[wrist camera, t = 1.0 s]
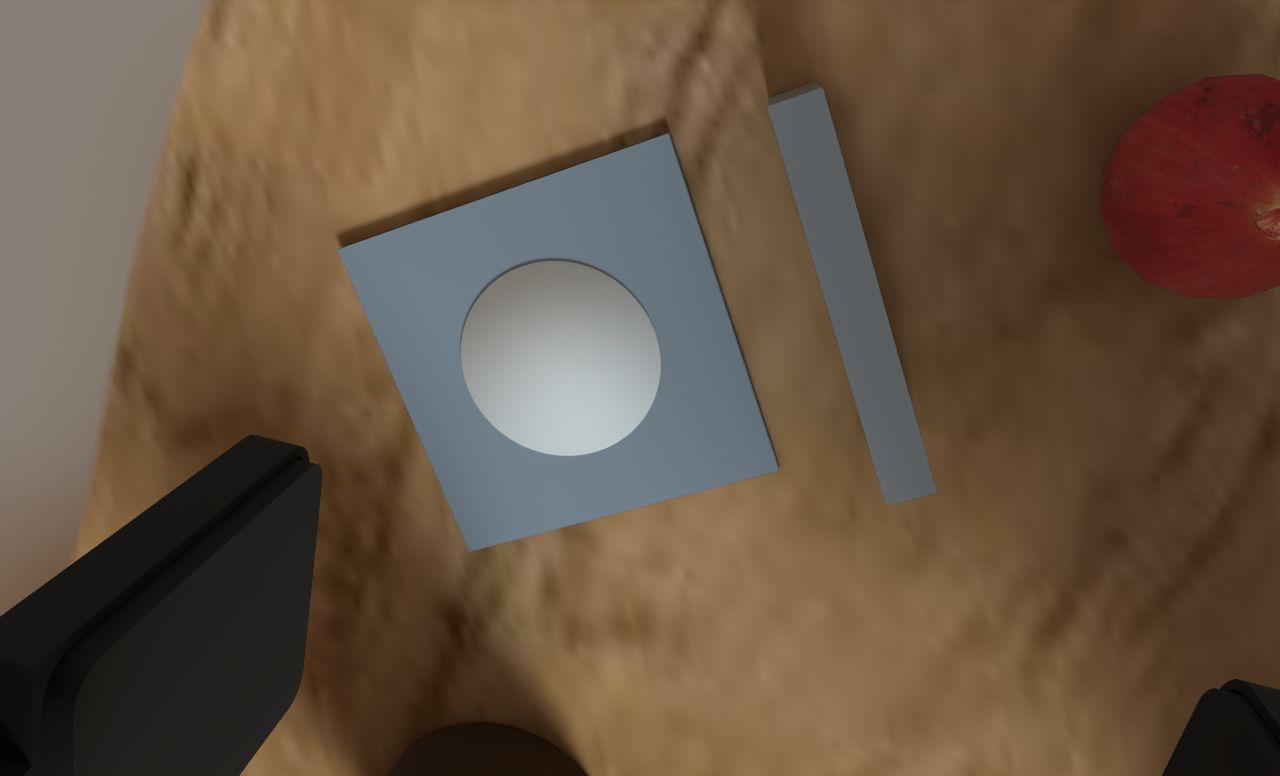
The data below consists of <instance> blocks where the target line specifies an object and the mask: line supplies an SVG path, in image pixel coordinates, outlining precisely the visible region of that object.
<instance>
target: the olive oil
mask: <svg viewBox="0 0 1280 776" xmlns="http://www.w3.org/2000/svg"><path fill="white" fill-rule="evenodd" d="M389 776H584V774H583V773H582V772H581V771H580V769H579V768H578V767H577V766H576V765H575V764H574V763H573V762H572V761H571V760H570V759H569V758H567V757H566V756H565V755H564V754H563V753H561V752H560V751H559V750H557V749H556V748H554V747H553V746H551V745H550V744H548V743H546V742H544V741H543V740H541V739H539V738H537V737H535V736H532V735H530V734H527V733H525V732H522V731H519V730H516V729H512V728H508V727H504V726H498V725H490V724H465V725H457V726H452V727H448V728H444V729H441V730H438V731H436V732H433V733H431V734H429V735H427V736H425V737H424V738H422V739H420V740H419V741H417V742H416V743H415V744H413V745H412V746H411V747H410V748H409V749H408V750H407V751H406V752H405V753H404V754H403V755H402V756H401V758H400V759H399V760H398V762H397V763H396V765H395V766H394V768H393V769H392V771H391V773H390V774H389Z"/></svg>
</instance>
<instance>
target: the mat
mask: <svg viewBox="0 0 1280 776" xmlns="http://www.w3.org/2000/svg"><path fill="white" fill-rule="evenodd" d="M338 252H339V254H340V256H341V259H342V261H343V263H344V266H345V268H346V270H347V272H348V275H349V277H350V279H351V282H352V284H353V286H354V289H355V291H356V293H357V295H358V298H359V300H360V302H361V305H362V307H363V309H364V311H365V314H366V316H367V318H368V321H369V323H370V325H371V328H372V330H373V332H374V334H375V337H376V339H377V341H378V344H379V346H380V348H381V350H382V353H383V355H384V357H385V360H386V362H387V364H388V366H389V369H390V371H391V373H392V376H393V378H394V380H395V383H396V385H397V387H398V389H399V392H400V394H401V396H402V399H403V401H404V403H405V405H406V408H407V410H408V412H409V415H410V417H411V419H412V422H413V424H414V426H415V428H416V431H417V433H418V435H419V438H420V440H421V442H422V444H423V447H424V449H425V451H426V454H427V456H428V458H429V461H430V463H431V465H432V467H433V470H434V472H435V474H436V477H437V479H438V481H439V483H440V486H441V488H442V490H443V493H444V495H445V497H446V500H447V502H448V504H449V506H450V509H451V511H452V513H453V516H454V518H455V520H456V522H457V525H458V527H459V529H460V532H461V534H462V536H463V539H464V541H465V543H466V545H467V548H468V550H469V552H471V551H474V550H478V549H482V548H486V547H490V546H494V545H497V544H501V543H505V542H509V541H513V540H516V539H520V538H524V537H528V536H532V535H536V534H539V533H543V532H547V531H551V530H555V529H558V528H562V527H566V526H570V525H574V524H578V523H581V522H585V521H589V520H593V519H597V518H600V517H604V516H608V515H612V514H616V513H620V512H623V511H627V510H631V509H635V508H639V507H643V506H646V505H650V504H654V503H658V502H662V501H665V500H669V499H673V498H677V497H681V496H685V495H688V494H692V493H696V492H700V491H704V490H707V489H711V488H715V487H719V486H723V485H727V484H730V483H734V482H738V481H742V480H746V479H749V478H753V477H757V476H761V475H765V474H769V473H772V472H776V471H779V464H778V461H777V458H776V455H775V452H774V449H773V446H772V443H771V439H770V436H769V433H768V430H767V427H766V424H765V421H764V418H763V415H762V412H761V409H760V406H759V403H758V400H757V397H756V394H755V391H754V388H753V385H752V382H751V378H750V375H749V372H748V369H747V366H746V363H745V360H744V357H743V354H742V351H741V348H740V345H739V342H738V339H737V336H736V333H735V330H734V327H733V324H732V321H731V318H730V314H729V311H728V308H727V305H726V302H725V299H724V296H723V293H722V290H721V287H720V284H719V281H718V278H717V275H716V272H715V269H714V266H713V263H712V260H711V257H710V253H709V250H708V247H707V244H706V241H705V238H704V235H703V232H702V229H701V226H700V223H699V220H698V217H697V214H696V211H695V208H694V205H693V202H692V199H691V196H690V193H689V189H688V186H687V183H686V180H685V177H684V174H683V171H682V168H681V165H680V162H679V159H678V156H677V153H676V150H675V147H674V144H673V141H672V138H671V135H670V132H669V133H667V134H664V135H661V136H658V137H655V138H652V139H649V140H647V141H644V142H641V143H638V144H635V145H632V146H630V147H627V148H624V149H621V150H618V151H615V152H612V153H610V154H607V155H604V156H601V157H598V158H595V159H593V160H590V161H587V162H584V163H581V164H578V165H575V166H573V167H570V168H567V169H564V170H561V171H558V172H556V173H553V174H550V175H547V176H544V177H541V178H538V179H536V180H533V181H530V182H527V183H524V184H521V185H519V186H516V187H513V188H510V189H507V190H504V191H501V192H499V193H496V194H493V195H490V196H487V197H484V198H481V199H479V200H476V201H473V202H470V203H467V204H464V205H462V206H459V207H456V208H453V209H450V210H447V211H444V212H442V213H439V214H436V215H433V216H430V217H427V218H425V219H422V220H419V221H416V222H413V223H410V224H407V225H405V226H402V227H399V228H396V229H393V230H390V231H388V232H385V233H382V234H379V235H376V236H373V237H370V238H368V239H365V240H362V241H359V242H356V243H353V244H351V245H348V246H345V247H342V248H340V249H338Z"/></svg>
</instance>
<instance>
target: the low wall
mask: <svg viewBox="0 0 1280 776" xmlns="http://www.w3.org/2000/svg"><path fill="white" fill-rule="evenodd" d="M767 108H768V112H769V115H770V118H771V122H772V125H773V128H774V132H775V135H776V139H777V142H778V145H779V149H780V152H781V155H782V159H783V162H784V165H785V169H786V172H787V175H788V179H789V182H790V185H791V189H792V192H793V195H794V199H795V202H796V206H797V209H798V212H799V216H800V219H801V222H802V226H803V229H804V232H805V236H806V239H807V242H808V246H809V249H810V252H811V256H812V259H813V263H814V266H815V269H816V273H817V276H818V279H819V283H820V286H821V289H822V293H823V296H824V299H825V303H826V306H827V309H828V313H829V316H830V319H831V323H832V326H833V330H834V333H835V336H836V340H837V343H838V346H839V350H840V353H841V356H842V360H843V363H844V366H845V370H846V373H847V376H848V380H849V383H850V386H851V390H852V393H853V397H854V400H855V403H856V407H857V410H858V413H859V417H860V420H861V423H862V427H863V430H864V433H865V437H866V440H867V443H868V447H869V450H870V453H871V457H872V460H873V464H874V467H875V470H876V474H877V477H878V480H879V484H880V487H881V490H882V494H883V497H884V500H885V504H886V506H887V505H891V504H895V503H900V502H904V501H908V500H912V499H916V498H920V497H924V496H928V495H932V494H936V493H937V491H936V488H935V484H934V481H933V477H932V473H931V470H930V466H929V463H928V459H927V456H926V452H925V449H924V445H923V441H922V438H921V434H920V431H919V427H918V424H917V420H916V417H915V413H914V409H913V406H912V402H911V399H910V395H909V392H908V388H907V385H906V381H905V377H904V374H903V370H902V367H901V363H900V360H899V356H898V353H897V349H896V345H895V342H894V338H893V335H892V331H891V328H890V324H889V321H888V317H887V313H886V310H885V306H884V303H883V299H882V296H881V292H880V289H879V285H878V281H877V278H876V274H875V271H874V267H873V264H872V260H871V257H870V253H869V249H868V246H867V242H866V239H865V235H864V232H863V228H862V225H861V221H860V217H859V214H858V210H857V207H856V203H855V200H854V196H853V193H852V189H851V186H850V182H849V178H848V175H847V171H846V168H845V164H844V161H843V157H842V154H841V150H840V146H839V143H838V139H837V136H836V132H835V129H834V125H833V122H832V118H831V114H830V111H829V107H828V104H827V100H826V97H825V93H824V90H823V87H822V86H821V85H820V84H818V83H817V82H816V81H815V82H812V83H809V84H806V85H803V86H800V87H797V88H795V89H792V90H789V91H786V92H783V93H780V94H778V95H775V96H772V97H769V98H768V104H767Z"/></svg>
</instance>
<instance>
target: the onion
mask: <svg viewBox="0 0 1280 776" xmlns="http://www.w3.org/2000/svg"><path fill="white" fill-rule="evenodd" d="M1099 211H1100V214H1101V217H1102V220H1103V224H1104V227H1105V230H1106V233H1107V236H1108V239H1109V243H1110V246H1111V247H1112V248H1113V249H1114V250H1115V251H1116V253H1117V254H1118V255H1119V256H1120V257H1121V258H1122V259H1123V260H1124V261H1125V262H1126V263H1128V264H1129V265H1130V266H1131V267H1132V268H1133V269H1134V270H1135V271H1136V272H1137V273H1138V274H1139V275H1140V276H1141V277H1142V278H1143V279H1144V280H1145V281H1147V282H1149V283H1152V284H1155V285H1157V286H1160V287H1162V288H1165V289H1167V290H1170V291H1173V292H1175V293H1178V294H1180V295H1183V296H1189V297H1195V298H1242V297H1247V296H1250V295H1253V294H1256V293H1259V292H1262V291H1265V290H1268V289H1271V288H1274V287H1277V286H1280V81H1278V80H1276V79H1273V78H1271V77H1268V76H1265V75H1263V74H1251V75H1236V76H1220V77H1207V78H1205V79H1202V80H1200V81H1198V82H1195V83H1193V84H1191V85H1189V86H1187V87H1185V88H1183V89H1181V90H1179V91H1177V92H1176V93H1174V94H1172V95H1170V96H1168V97H1166V98H1164V99H1162V100H1160V101H1158V102H1156V103H1155V104H1153V105H1152V106H1151V107H1150V108H1149V109H1148V110H1147V111H1146V112H1145V113H1144V114H1143V115H1142V116H1141V117H1140V118H1139V119H1137V120H1136V121H1135V122H1134V123H1133V124H1132V125H1131V126H1130V127H1129V128H1128V129H1127V130H1126V131H1125V132H1124V133H1123V134H1122V135H1121V137H1120V139H1119V141H1118V143H1117V145H1116V146H1115V148H1114V150H1113V152H1112V154H1111V156H1110V158H1109V160H1108V162H1107V164H1106V166H1105V168H1104V170H1103V174H1102V185H1101V196H1100V207H1099Z"/></svg>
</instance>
